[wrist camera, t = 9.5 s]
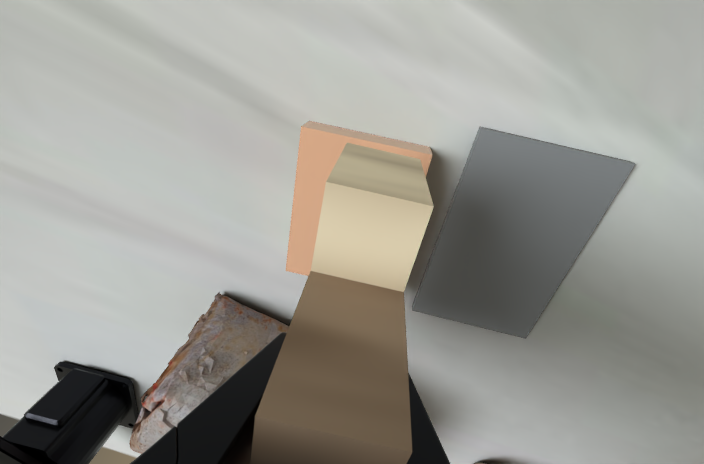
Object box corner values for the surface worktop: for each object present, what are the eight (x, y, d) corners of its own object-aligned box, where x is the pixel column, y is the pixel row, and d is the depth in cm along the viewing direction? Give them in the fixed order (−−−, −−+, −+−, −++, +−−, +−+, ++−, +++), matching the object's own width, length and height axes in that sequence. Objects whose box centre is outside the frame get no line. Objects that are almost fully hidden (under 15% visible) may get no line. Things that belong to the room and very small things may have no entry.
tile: (295, 252, 20) (390, 274, 20) (285, 270, 19) (390, 294, 18) (311, 119, 17) (429, 144, 16) (301, 126, 15) (432, 154, 15)
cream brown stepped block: (362, 347, 15) (337, 595, 8) (309, 335, 15) (239, 572, 8) (420, 159, 11) (471, 337, 4) (346, 142, 11) (268, 290, 4)
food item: (405, 363, 23) (407, 547, 14) (353, 421, 27) (330, 595, 18) (223, 276, 22) (102, 422, 13) (195, 350, 25) (87, 501, 17)
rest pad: (523, 333, 20) (525, 338, 20) (412, 306, 20) (412, 310, 20) (630, 161, 15) (635, 163, 15) (479, 126, 15) (481, 128, 15)
